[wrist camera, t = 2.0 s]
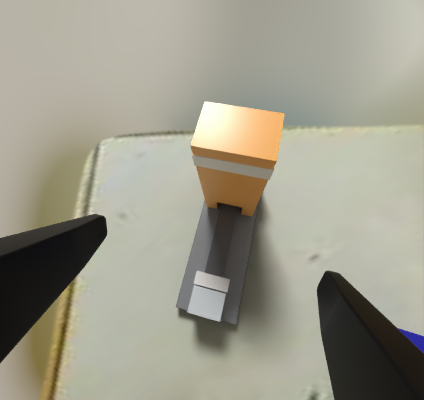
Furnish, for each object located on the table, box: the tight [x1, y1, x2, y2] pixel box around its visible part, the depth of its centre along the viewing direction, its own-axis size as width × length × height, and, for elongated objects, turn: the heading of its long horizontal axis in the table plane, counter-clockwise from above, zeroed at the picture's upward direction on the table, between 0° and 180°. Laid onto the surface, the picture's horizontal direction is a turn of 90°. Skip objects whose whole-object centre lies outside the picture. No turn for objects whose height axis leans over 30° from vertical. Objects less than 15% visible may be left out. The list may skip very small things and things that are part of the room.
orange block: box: [191, 102, 285, 217], centre depth 16 cm, size 3×5×11 cm
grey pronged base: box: [176, 201, 259, 325], centre depth 19 cm, size 14×5×4 cm, turn 166°
